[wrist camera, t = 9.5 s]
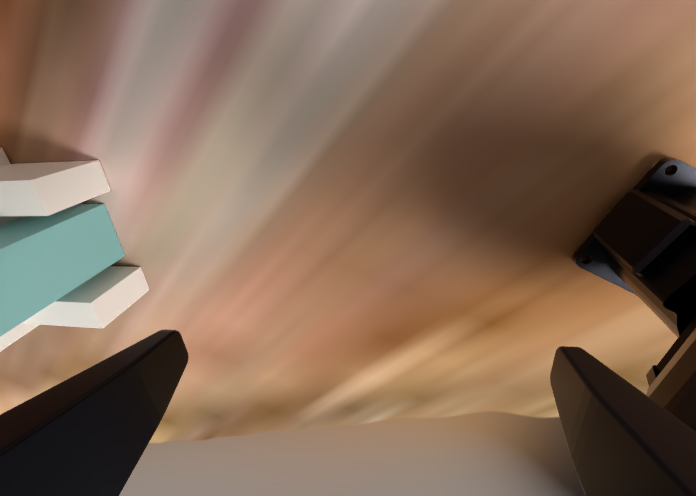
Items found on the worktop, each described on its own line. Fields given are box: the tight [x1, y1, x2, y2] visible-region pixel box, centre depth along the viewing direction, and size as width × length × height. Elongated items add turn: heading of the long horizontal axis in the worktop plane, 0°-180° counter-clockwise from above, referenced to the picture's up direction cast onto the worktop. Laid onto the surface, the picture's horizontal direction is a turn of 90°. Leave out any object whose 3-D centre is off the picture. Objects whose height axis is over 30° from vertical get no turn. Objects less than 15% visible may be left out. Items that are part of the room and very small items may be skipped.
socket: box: [0, 147, 150, 351], centre depth 22 cm, size 10×12×7 cm
